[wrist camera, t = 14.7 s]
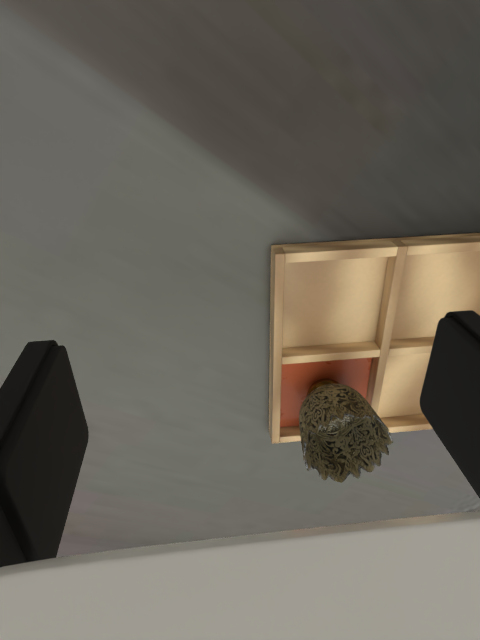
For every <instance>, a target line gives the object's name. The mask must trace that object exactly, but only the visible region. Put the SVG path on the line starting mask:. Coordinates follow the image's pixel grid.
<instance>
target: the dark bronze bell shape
mask: <svg viewBox="0 0 480 640" xmlns="http://www.w3.org/2000/svg"><path fill="white" fill-rule="evenodd" d="M299 429H300V436H301V443H302V450H303V459H304V461H305V464H306V467H307V470H308V471H310V470H311V466H312V468H313V469H316V470H318V472H319V475H320V477H321V478H322V479H323V480H326V479H327V478H328V476H329V477H330V478H331V479H332V480H334V481H337V482H343V481H344V480H345V479H346V478H347V476H348V475H349V474H350V473H351V474H352V475H353V476H354V477H355V478H360V473H361V472H360V468H362V469H364V470H365V471H367V472H372V471H373V469H374V468H375V465H377V466H380V465H381V457H382V454H381V452H382V453H385V454H387V455H389V451H388V448H387V445H389V444H391V443H393V440H392V437H391V435H390V432H389V429H388V428H387V426H386V425H385V424H384V423H383V421H382V420H381V419H380V417H379V416H378V415H377V413H376V412H375V411H374V409H373V408H372V407H371V405H370V404H369V403H368V401H367V400H366V399H365V398H364V397H363V396H362V395H361V394H360V393H359V392H358V391H356V390H355V389H353V388H351V387H349V386H347V385H343V384H340V383H339V382H337V381H335V380H333V379H329V378H324V379H320V380H317V381H316V382H314V383H313V384H312V385H311V386H310V387H309V389H308V391H307V396H306V398H305V400H304V401H303V403H302V405H301V408H300V412H299Z"/></svg>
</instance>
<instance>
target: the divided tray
mask: <svg viewBox="0 0 480 640" xmlns="http://www.w3.org/2000/svg"><path fill="white" fill-rule="evenodd" d="M467 310H473V311H474V312H476V313H477V314H478V315H480V233H468V234H451V235H434V236H417V237H400V238H383V239H366V240H349V241H332V242H315V243H298V244H280V245H271V284H270V366H269V432H270V437H271V442H272V443H279V442H280V443H283V442H294V441H301V436H300V429H299V412H300V408H301V405H302V403H303V401H304V400H305V398H306V396H307V391H308V389H309V387H310V386H311V385H312V384H313V383H314V382H316V381H317V380H320V379H324V378H329V379H333V380H335V381H337V382H339V383H340V384H343V385H347V386H349V387H351V388H353V389H355V390H356V391H358V392H359V393H360V394H361V395H362V396H363V397H364V398H365V399H366V400H367V401H368V403H369V404H370V405H371V407H372V408H373V409H374V411H375V412H376V413H377V415H378V416H379V417H380V419H381V420H382V421H383V423H384V424H385V425H386V426H387V428H388V429H389V432H390V433H393V432H404V431H415V430H426V429H433V428H432V426H431V425H430V423H429V422H428V420H427V419H426V417H425V416H424V414H423V413H422V411H421V408H420V396H421V391H422V387H423V383H424V379H425V375H426V371H427V367H428V362H429V358H430V354H431V350H432V346H433V342H434V338H435V333H436V329H437V325H438V322H439V320H440V319H441V318H444V317H445V315H446V314H447V313H448V312H453V311H467Z"/></svg>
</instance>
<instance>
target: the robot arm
mask: <svg viewBox="0 0 480 640" xmlns="http://www.w3.org/2000/svg"><path fill="white" fill-rule="evenodd" d="M420 408H421V411H422V413H423V414H424V416H425V417H426V419H427V420H428V422H429V423H430V425H431V426H432V428H433V429H434V431H435V432H436V434H437V435H438V437H439V438H440V440H441V441H442V443H443V444H444V446H445V447H446V449H447V450H448V452H449V453H450V455H451V456H452V458H453V459H454V461H455V462H456V464H457V465H458V467H459V468H460V470H461V471H462V473H463V474H464V476H465V477H466V479H467V480H468V482H469V483H470V484H471V486H472V487H473V489H474V490H475V492H476V493H477V495H478V496H479V498H480V315H478V314H477V313H476V312H474V311H473V310H467V311H453V312H448V313H447V314H446V315H445V317H444V318H441V319H440V320H439V322H438V325H437V329H436V333H435V338H434V342H433V346H432V350H431V354H430V358H429V362H428V367H427V371H426V375H425V379H424V383H423V387H422V391H421V396H420ZM87 443H88V427H87V423H86V419H85V416H84V412H83V409H82V405H81V401H80V398H79V394H78V390H77V387H76V383H75V380H74V376H73V372H72V369H71V365H70V361H69V358H68V354H67V351H66V348H65V347H64V346H58V344H57V343H56V341H54V340H49V341H35V342H28V344H27V345H26V346H25V348H24V350H23V351H22V353H21V355H20V356H19V358H18V360H17V361H16V363H15V365H14V366H13V368H12V370H11V371H10V373H9V375H8V377H7V378H6V380H5V382H4V383H3V385H2V387H1V388H0V640H480V511H471V512H461V513H451V514H441V515H432V516H422V517H412V518H402V519H392V520H383V521H373V522H364V523H354V524H345V525H335V526H326V527H317V528H307V529H298V530H289V531H280V532H270V533H261V534H252V535H243V536H234V537H225V538H216V539H207V540H198V541H189V542H180V543H172V544H163V545H154V546H145V547H136V548H128V549H120V550H112V551H104V552H97V553H89V554H81V555H73V556H66V557H58V558H56V555H57V552H58V548H59V544H60V541H61V537H62V533H63V530H64V526H65V523H66V519H67V515H68V512H69V508H70V505H71V501H72V497H73V494H74V490H75V487H76V483H77V479H78V476H79V472H80V468H81V465H82V461H83V458H84V454H85V450H86V447H87Z"/></svg>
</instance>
